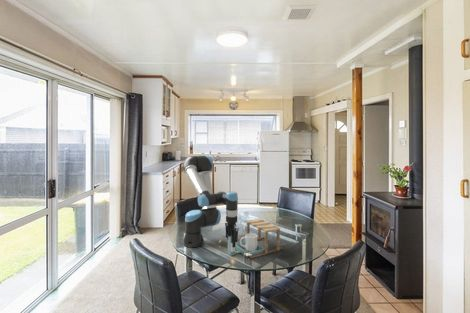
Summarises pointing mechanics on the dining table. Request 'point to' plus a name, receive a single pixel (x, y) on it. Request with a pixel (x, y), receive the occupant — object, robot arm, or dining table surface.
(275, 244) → the pit
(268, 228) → the wooden slat rack
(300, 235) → the dining table surface
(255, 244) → the cup
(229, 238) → the sled
